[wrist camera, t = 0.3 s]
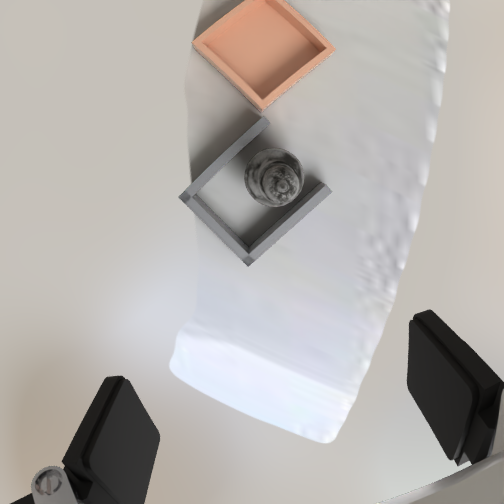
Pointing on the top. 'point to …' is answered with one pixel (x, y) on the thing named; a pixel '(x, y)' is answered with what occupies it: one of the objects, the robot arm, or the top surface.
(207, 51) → the dish
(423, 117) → the top surface
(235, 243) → the cubby
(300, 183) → the chess piece
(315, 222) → the top surface
